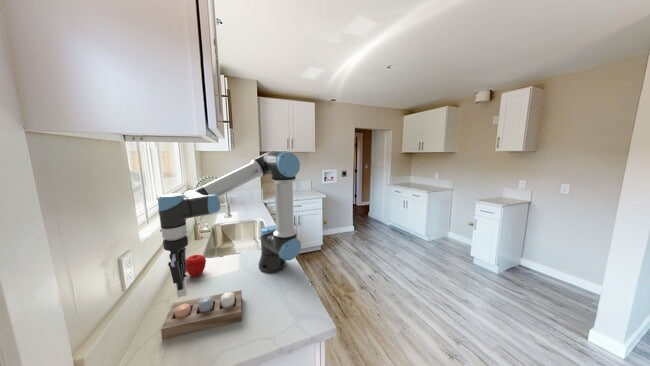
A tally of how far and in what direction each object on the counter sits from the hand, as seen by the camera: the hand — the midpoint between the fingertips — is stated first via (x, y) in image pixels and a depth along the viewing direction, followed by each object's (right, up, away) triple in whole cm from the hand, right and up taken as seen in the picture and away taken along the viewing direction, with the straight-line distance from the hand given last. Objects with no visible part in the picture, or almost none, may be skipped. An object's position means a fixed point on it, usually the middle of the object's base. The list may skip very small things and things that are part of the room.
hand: (182, 295), depth 85 cm
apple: (-14, -6, +33) cm, 37 cm away
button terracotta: (0, -10, +1) cm, 10 cm away
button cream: (+15, -8, +6) cm, 18 cm away
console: (+7, -10, +4) cm, 13 cm away
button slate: (+7, -8, +4) cm, 12 cm away
